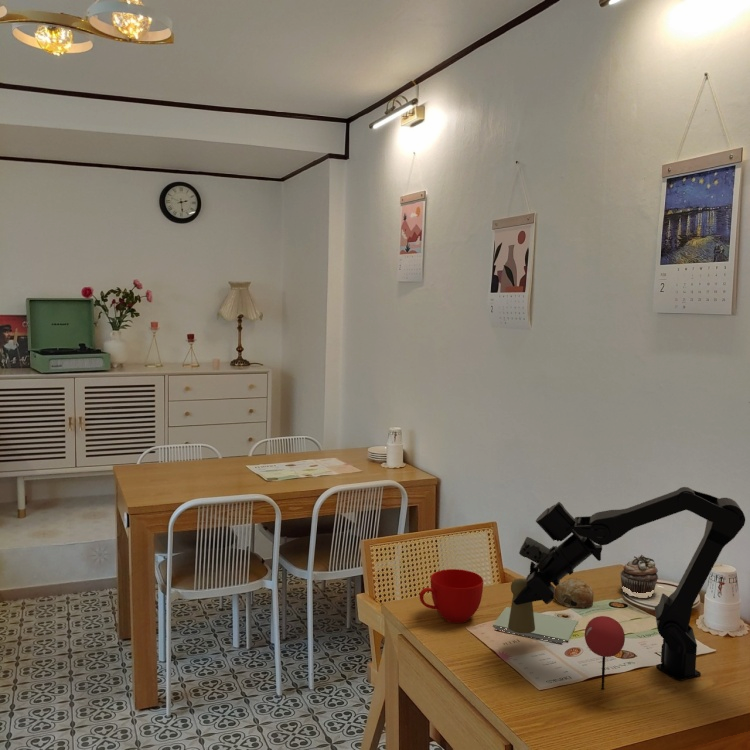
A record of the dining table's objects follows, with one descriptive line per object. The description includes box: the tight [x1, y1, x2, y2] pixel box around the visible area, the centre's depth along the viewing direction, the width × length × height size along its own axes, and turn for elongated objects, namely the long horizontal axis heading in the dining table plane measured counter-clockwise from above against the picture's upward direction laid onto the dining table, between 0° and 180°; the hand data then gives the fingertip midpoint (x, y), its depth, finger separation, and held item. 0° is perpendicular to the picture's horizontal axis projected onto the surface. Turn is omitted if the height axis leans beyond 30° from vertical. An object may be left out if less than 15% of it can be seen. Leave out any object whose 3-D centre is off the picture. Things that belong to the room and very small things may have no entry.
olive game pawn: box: [508, 577, 535, 633], centre depth 169 cm, size 6×6×11 cm
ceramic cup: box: [419, 568, 484, 624], centre depth 184 cm, size 13×17×10 cm
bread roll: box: [554, 577, 594, 609], centre depth 197 cm, size 10×10×8 cm
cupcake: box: [619, 554, 659, 593], centre depth 203 cm, size 10×10×10 cm
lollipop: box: [584, 615, 626, 690], centre depth 152 cm, size 8×8×15 cm
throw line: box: [494, 627, 564, 644], centre depth 176 cm, size 16×2×1 cm, turn 64°
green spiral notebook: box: [492, 606, 579, 642], centre depth 182 cm, size 18×12×1 cm, turn 64°
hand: (516, 598), depth 169 cm, fingers closed on olive game pawn, 5 cm apart
